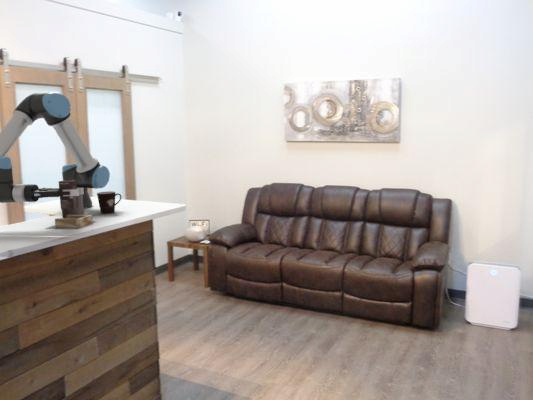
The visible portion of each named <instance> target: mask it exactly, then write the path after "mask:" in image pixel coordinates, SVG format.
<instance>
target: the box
mask: <svg viewBox="0 0 533 400" xmlns="http://www.w3.org/2000/svg"><path fill="white" fill-rule="evenodd" d="M58 188H59V190H62V191H63V190H72V189H77V186H76V180H67V181H63V180H59V181H58ZM62 197H63V198H60V197H59V202H60V210H62V209H76V208H78V199H77V196H63V195H62Z"/></svg>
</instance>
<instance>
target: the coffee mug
mask: <svg viewBox="0 0 533 400" xmlns="http://www.w3.org/2000/svg"><path fill="white" fill-rule="evenodd" d="M96 195H97V201H98V205H99V210H100V214H101V215H110V214H111V215H112V214H115V212H116V211H115V210H116V209H115V208H116V205H117V204H119V203H120V202H121V200H122V195H121V193H116V191H111V190H110V191H109V190H108V191H101V192H100V191H99V192H97V193H96ZM117 195H119V199H118V201H116V196H117Z"/></svg>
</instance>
